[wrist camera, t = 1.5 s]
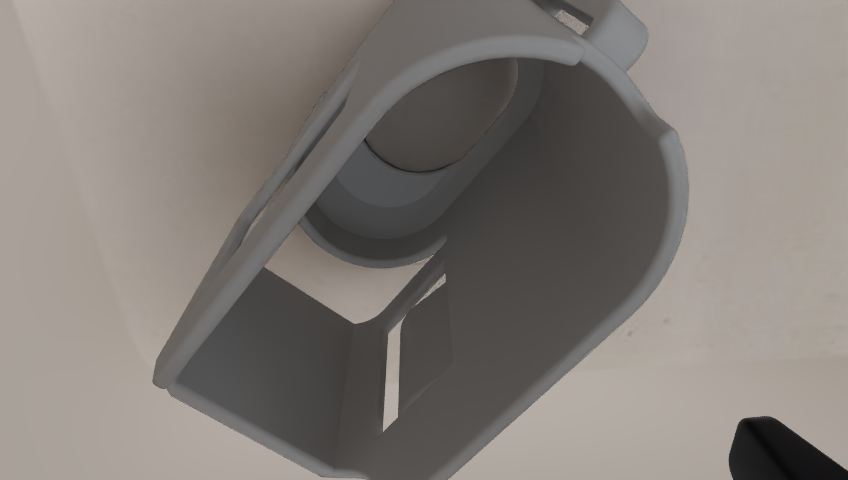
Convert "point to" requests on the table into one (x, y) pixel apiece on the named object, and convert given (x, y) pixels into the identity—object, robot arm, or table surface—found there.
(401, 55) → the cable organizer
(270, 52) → the table surface
